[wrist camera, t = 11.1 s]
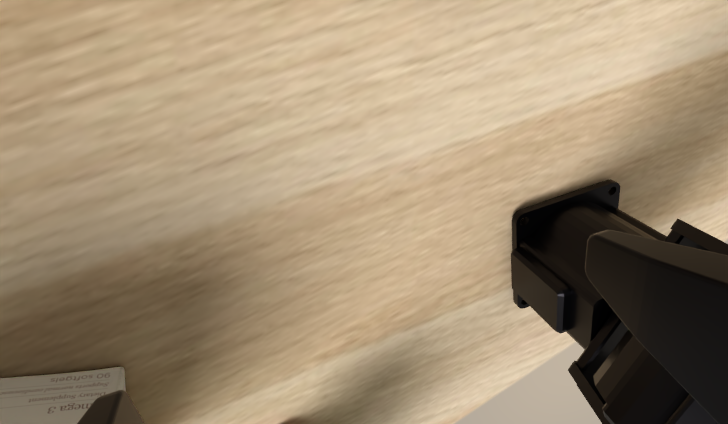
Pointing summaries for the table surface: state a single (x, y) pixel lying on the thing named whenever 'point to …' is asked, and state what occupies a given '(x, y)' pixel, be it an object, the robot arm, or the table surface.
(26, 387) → the supplement box
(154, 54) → the table surface
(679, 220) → the robot arm
